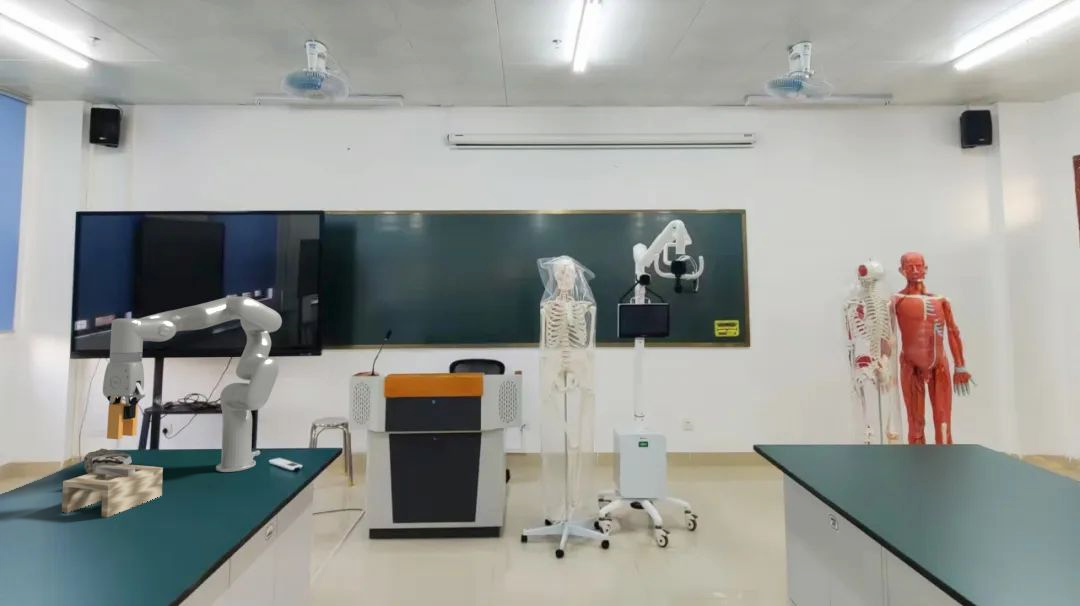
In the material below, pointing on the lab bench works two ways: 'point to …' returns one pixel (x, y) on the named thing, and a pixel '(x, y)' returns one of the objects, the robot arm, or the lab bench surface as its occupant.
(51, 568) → the lab bench surface
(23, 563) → the lab bench surface
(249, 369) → the robot arm
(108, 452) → the pumice stone
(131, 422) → the tall wooden brick
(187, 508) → the lab bench surface
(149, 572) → the lab bench surface
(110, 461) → the food container
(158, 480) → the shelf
